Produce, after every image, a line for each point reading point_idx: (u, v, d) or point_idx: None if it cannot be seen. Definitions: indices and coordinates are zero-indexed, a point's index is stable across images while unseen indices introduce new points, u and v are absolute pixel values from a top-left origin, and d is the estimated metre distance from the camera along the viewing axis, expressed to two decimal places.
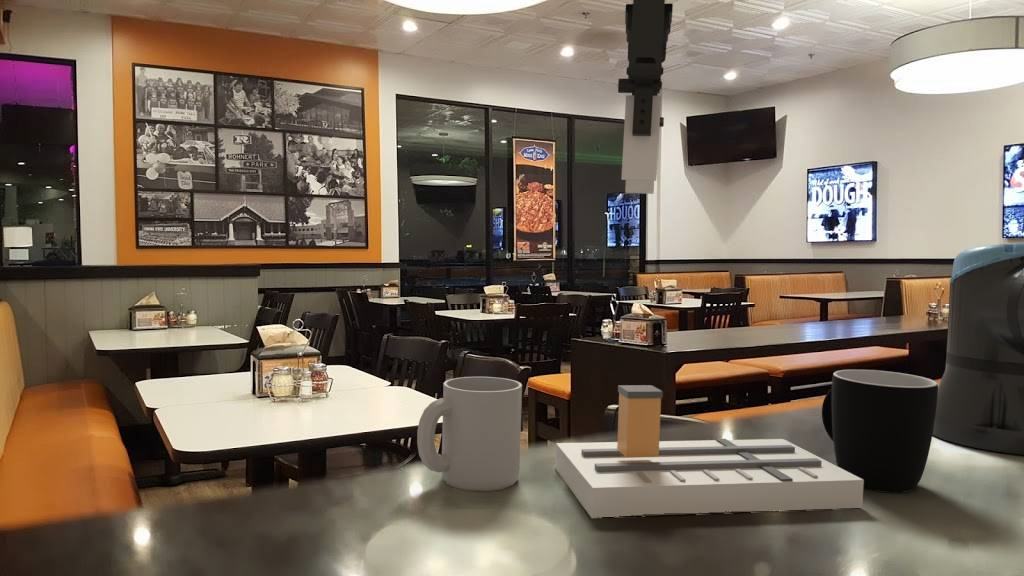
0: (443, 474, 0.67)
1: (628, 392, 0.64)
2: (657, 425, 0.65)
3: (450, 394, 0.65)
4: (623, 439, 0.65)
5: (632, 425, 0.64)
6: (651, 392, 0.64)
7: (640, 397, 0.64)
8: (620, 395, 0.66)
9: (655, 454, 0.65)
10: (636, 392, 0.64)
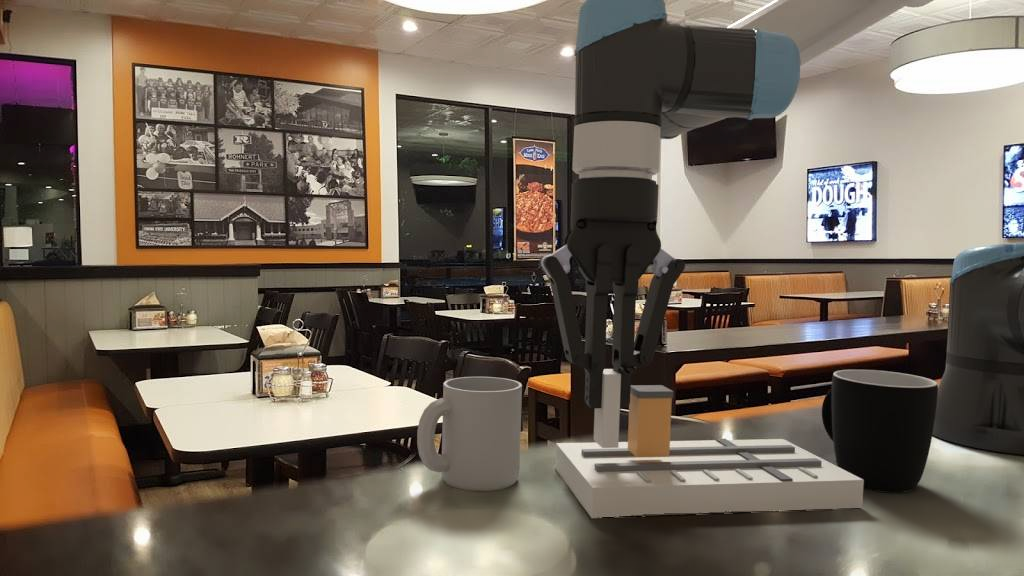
0: (443, 474, 0.67)
1: (639, 392, 0.64)
2: (668, 425, 0.65)
3: (450, 394, 0.65)
4: (633, 439, 0.66)
5: (642, 425, 0.65)
6: (662, 392, 0.65)
7: (651, 397, 0.64)
8: (631, 395, 0.66)
9: (666, 454, 0.65)
10: (647, 392, 0.64)
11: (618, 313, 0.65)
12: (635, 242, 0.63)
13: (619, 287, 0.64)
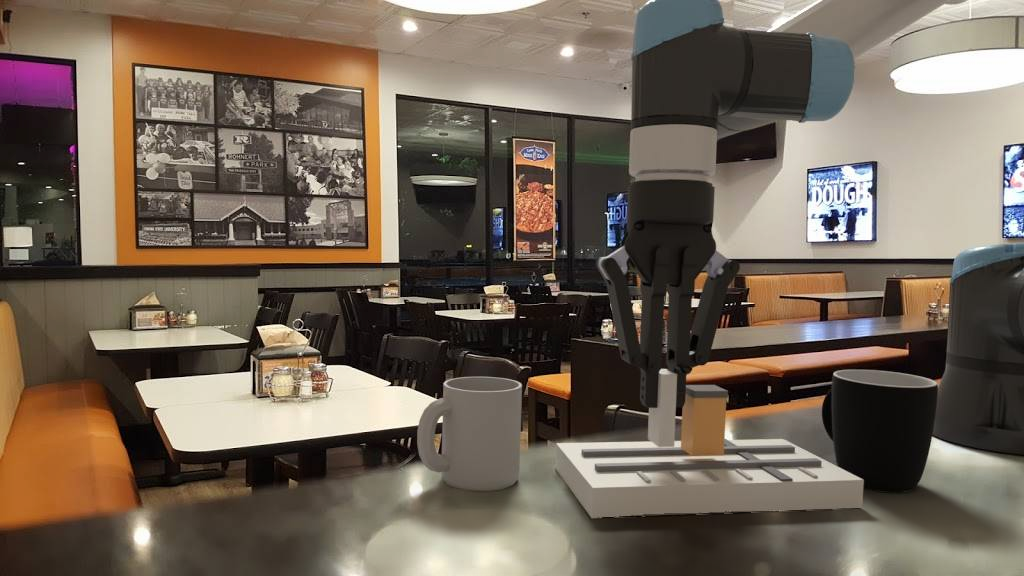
0: (443, 474, 0.67)
1: (694, 392, 0.65)
2: (722, 424, 0.66)
3: (450, 394, 0.65)
4: (688, 438, 0.66)
5: (698, 424, 0.65)
6: (717, 392, 0.65)
7: (706, 396, 0.65)
8: None
9: (720, 453, 0.66)
10: (702, 392, 0.65)
11: (674, 314, 0.65)
12: (691, 244, 0.64)
13: (675, 288, 0.65)
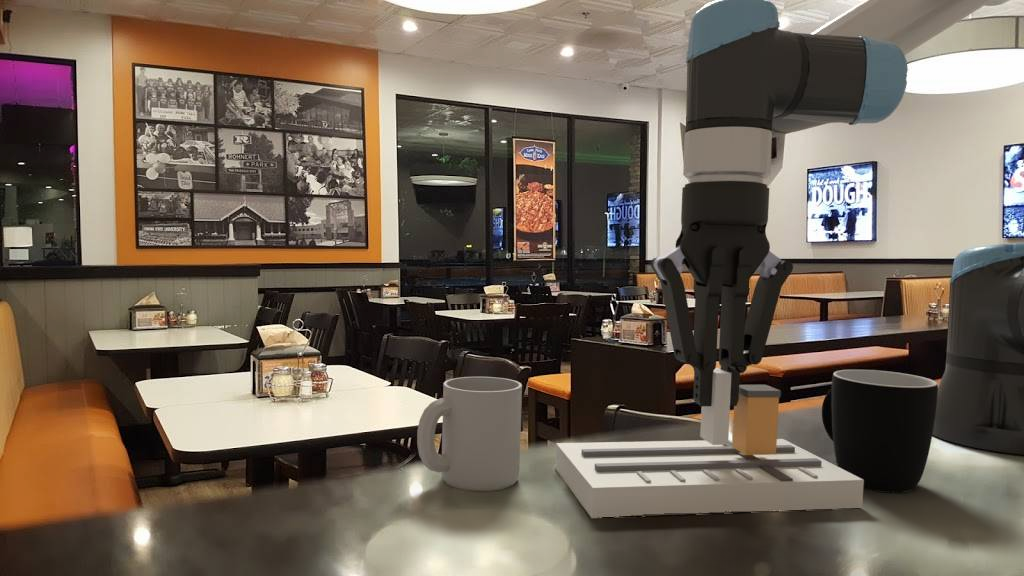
0: (443, 474, 0.67)
1: (748, 391, 0.66)
2: (775, 423, 0.67)
3: (450, 394, 0.65)
4: (740, 437, 0.67)
5: (751, 424, 0.66)
6: (770, 391, 0.66)
7: (759, 396, 0.66)
8: None
9: (773, 451, 0.67)
10: (755, 391, 0.66)
11: (727, 314, 0.66)
12: (746, 244, 0.65)
13: (729, 288, 0.66)
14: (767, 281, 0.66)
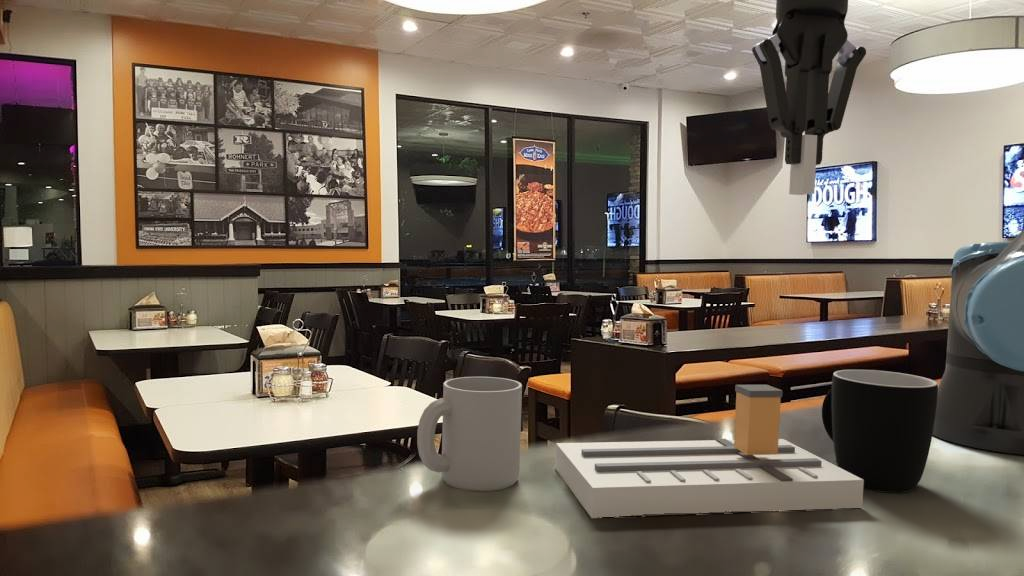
0: (443, 474, 0.67)
1: (750, 391, 0.66)
2: (777, 423, 0.67)
3: (450, 394, 0.65)
4: (742, 437, 0.67)
5: (753, 424, 0.66)
6: (771, 391, 0.66)
7: (761, 396, 0.66)
8: (738, 394, 0.68)
9: (774, 451, 0.67)
10: (757, 391, 0.66)
11: (813, 90, 0.83)
12: (829, 31, 0.82)
13: (814, 69, 0.83)
14: (845, 64, 0.83)
